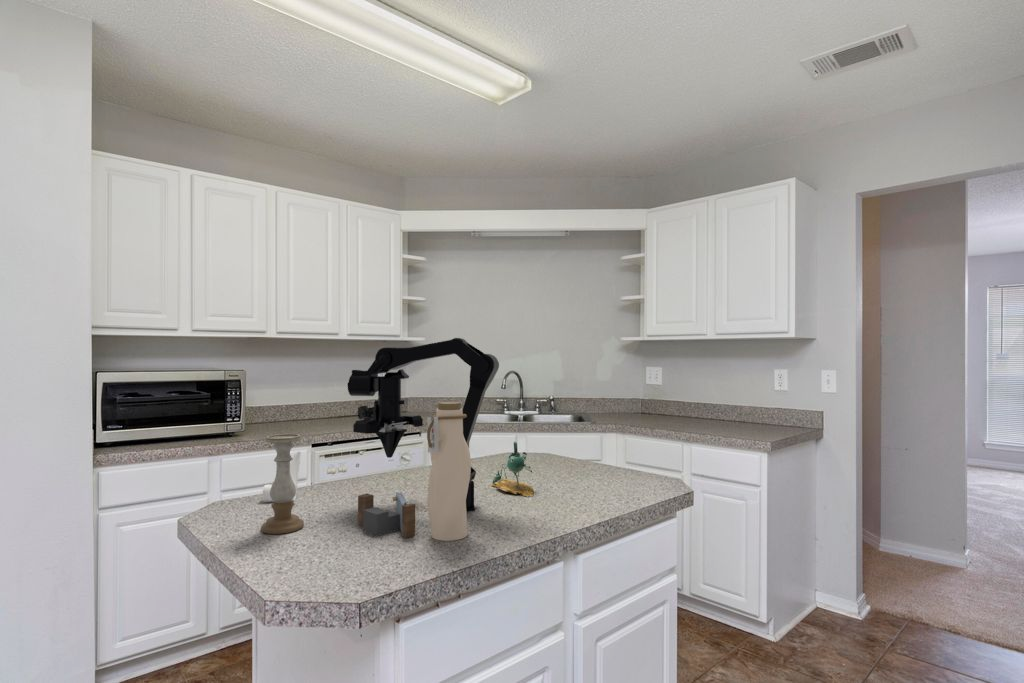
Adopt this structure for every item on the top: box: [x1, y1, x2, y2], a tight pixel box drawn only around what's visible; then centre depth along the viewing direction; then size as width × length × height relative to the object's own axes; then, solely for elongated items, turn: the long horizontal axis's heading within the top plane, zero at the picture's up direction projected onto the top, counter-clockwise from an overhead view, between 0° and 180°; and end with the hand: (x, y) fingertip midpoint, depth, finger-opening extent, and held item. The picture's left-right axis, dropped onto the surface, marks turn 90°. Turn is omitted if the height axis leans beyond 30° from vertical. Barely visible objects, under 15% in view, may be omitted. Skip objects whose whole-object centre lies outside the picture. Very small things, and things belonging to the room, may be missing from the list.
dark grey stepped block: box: [362, 506, 401, 537], centre depth 121 cm, size 5×6×5 cm
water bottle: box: [426, 401, 472, 542], centre depth 117 cm, size 10×9×28 cm
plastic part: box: [262, 451, 302, 503], centre depth 148 cm, size 8×10×12 cm
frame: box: [357, 493, 416, 539], centre depth 121 cm, size 16×2×7 cm, turn 54°
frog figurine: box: [490, 441, 534, 498], centre depth 156 cm, size 10×18×15 cm, turn 31°
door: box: [392, 492, 408, 533], centre depth 123 cm, size 11×2×6 cm, turn 18°
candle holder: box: [260, 433, 305, 535], centre depth 122 cm, size 9×9×20 cm
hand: (389, 457), depth 141 cm, fingers closed
